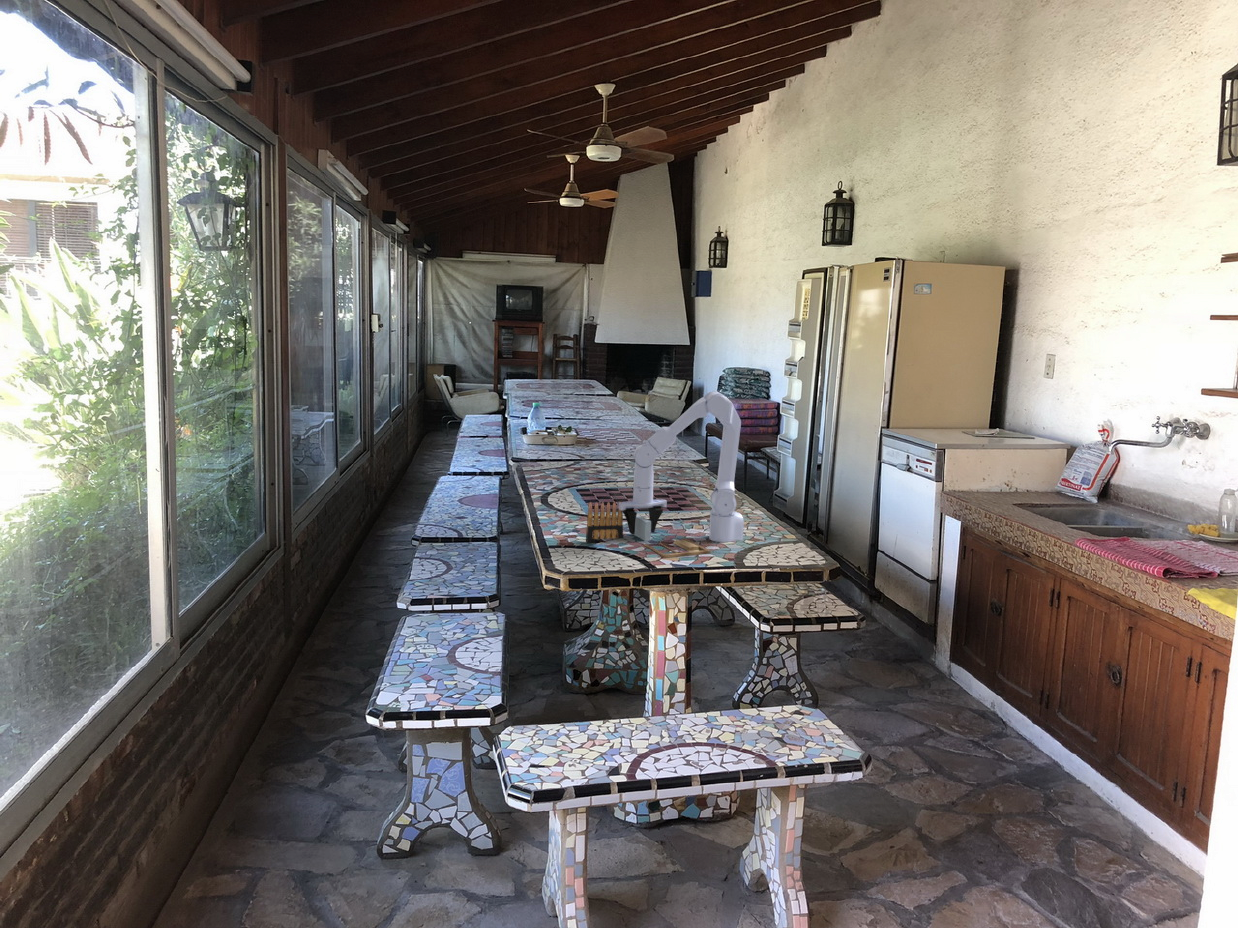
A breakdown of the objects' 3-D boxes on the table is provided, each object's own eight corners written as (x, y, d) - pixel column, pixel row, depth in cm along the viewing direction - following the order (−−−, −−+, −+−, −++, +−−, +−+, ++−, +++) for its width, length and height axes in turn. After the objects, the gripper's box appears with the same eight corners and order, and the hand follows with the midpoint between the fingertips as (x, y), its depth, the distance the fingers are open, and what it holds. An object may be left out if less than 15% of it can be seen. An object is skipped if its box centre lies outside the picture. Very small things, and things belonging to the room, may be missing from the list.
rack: (686, 545, 249) (686, 538, 248) (710, 557, 237) (710, 550, 236) (641, 549, 243) (642, 542, 243) (663, 562, 231) (663, 555, 231)
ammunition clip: (621, 540, 252) (622, 500, 250) (623, 542, 250) (624, 501, 248) (585, 541, 250) (586, 501, 248) (586, 543, 248) (587, 502, 246)
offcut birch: (683, 544, 248) (683, 541, 248) (700, 553, 239) (700, 550, 239) (672, 545, 246) (673, 542, 246) (689, 555, 237) (689, 551, 237)
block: (638, 538, 256) (639, 515, 254) (650, 545, 249) (651, 521, 247) (632, 538, 255) (633, 515, 254) (644, 545, 248) (645, 521, 247)
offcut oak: (683, 542, 247) (683, 539, 247) (698, 549, 240) (698, 546, 240) (674, 543, 245) (674, 540, 245) (689, 550, 239) (689, 547, 238)
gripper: (659, 482, 255) (658, 527, 258) (614, 485, 250) (613, 531, 252) (670, 487, 249) (668, 532, 251) (624, 490, 243) (623, 537, 246)
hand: (641, 532), depth 251 cm, fingers open, 6 cm apart
